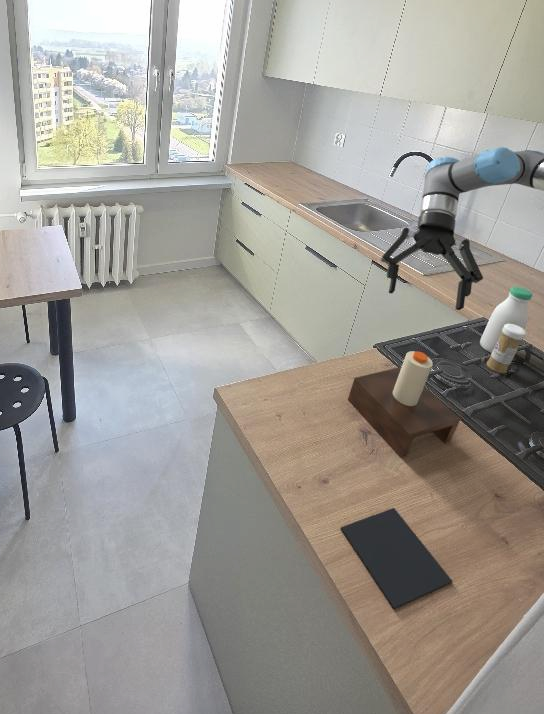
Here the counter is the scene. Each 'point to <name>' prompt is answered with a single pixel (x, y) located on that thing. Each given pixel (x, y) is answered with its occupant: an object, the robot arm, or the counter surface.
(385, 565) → the mat
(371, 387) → the shelf
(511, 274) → the counter surface
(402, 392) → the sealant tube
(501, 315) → the milk bottle
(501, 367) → the sprinkles bottle
